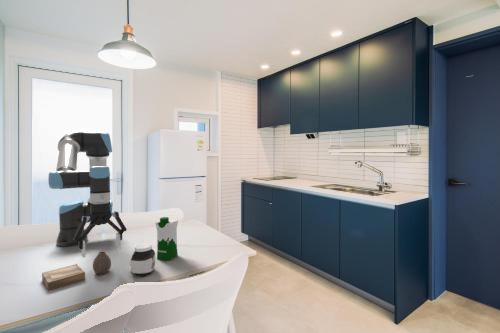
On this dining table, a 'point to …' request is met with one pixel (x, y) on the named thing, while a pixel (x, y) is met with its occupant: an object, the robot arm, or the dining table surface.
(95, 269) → the brown oval lump
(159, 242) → the milk carton
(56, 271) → the base slab
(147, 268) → the spread jar
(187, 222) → the dining table surface
